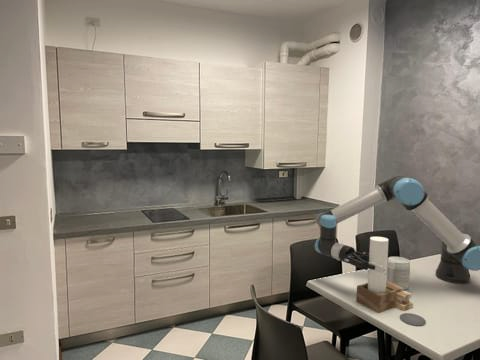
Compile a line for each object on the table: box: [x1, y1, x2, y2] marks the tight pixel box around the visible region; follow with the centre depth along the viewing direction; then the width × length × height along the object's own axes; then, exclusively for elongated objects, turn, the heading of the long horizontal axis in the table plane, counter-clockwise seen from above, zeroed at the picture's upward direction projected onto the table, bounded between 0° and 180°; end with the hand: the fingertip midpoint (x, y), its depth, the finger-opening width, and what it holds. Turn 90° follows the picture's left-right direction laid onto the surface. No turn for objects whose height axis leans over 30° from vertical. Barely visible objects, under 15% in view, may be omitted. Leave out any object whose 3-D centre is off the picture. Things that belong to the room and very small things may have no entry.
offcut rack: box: [355, 280, 414, 313], centre depth 150 cm, size 17×15×7 cm
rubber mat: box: [399, 312, 427, 327], centre depth 137 cm, size 9×9×1 cm
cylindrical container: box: [367, 236, 390, 295], centre depth 149 cm, size 7×7×25 cm
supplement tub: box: [386, 256, 411, 292], centre depth 164 cm, size 10×10×15 cm
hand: (388, 268), depth 144 cm, fingers closed on cylindrical container, 7 cm apart
